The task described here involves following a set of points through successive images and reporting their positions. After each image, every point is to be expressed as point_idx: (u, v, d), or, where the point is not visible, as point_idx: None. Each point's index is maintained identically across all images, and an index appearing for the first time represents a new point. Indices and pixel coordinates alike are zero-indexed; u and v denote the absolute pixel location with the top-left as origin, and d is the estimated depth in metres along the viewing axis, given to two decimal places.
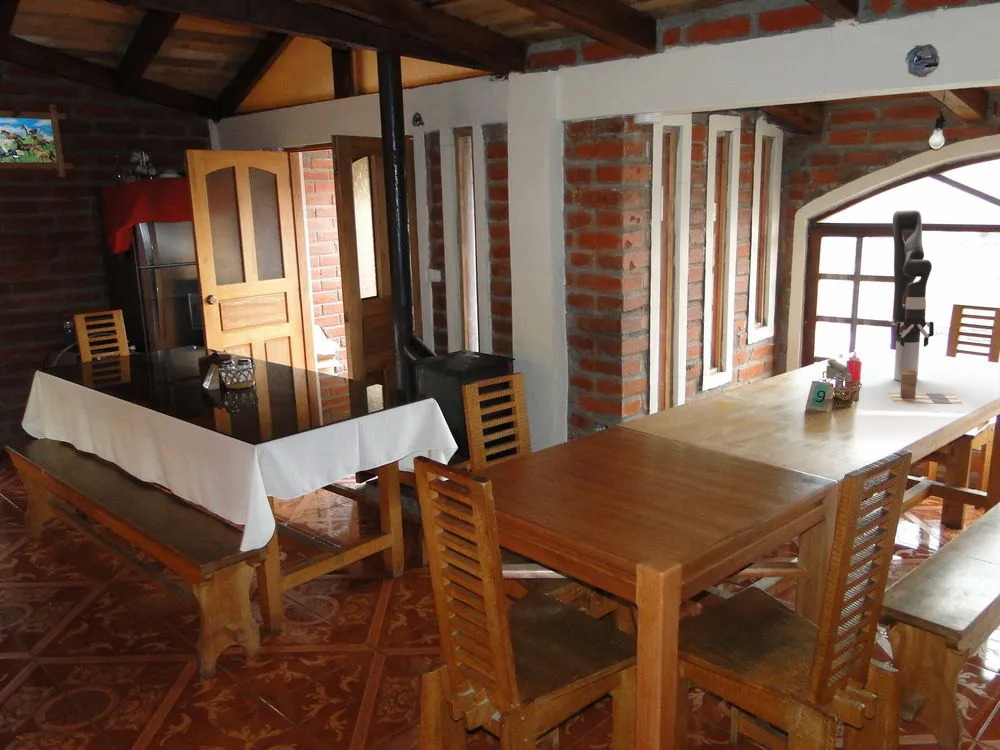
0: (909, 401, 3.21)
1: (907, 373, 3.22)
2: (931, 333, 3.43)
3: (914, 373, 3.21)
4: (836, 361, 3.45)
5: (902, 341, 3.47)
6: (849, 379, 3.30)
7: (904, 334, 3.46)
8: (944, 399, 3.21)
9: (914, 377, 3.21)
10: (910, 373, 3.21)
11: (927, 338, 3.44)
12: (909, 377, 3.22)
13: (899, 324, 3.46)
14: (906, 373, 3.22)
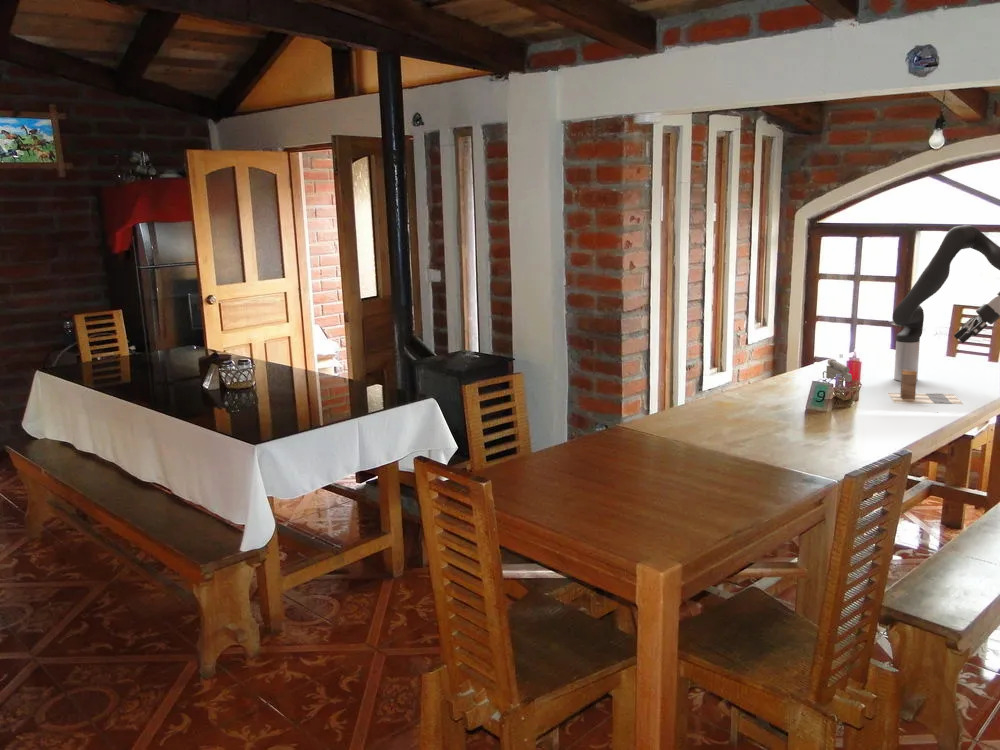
0: (909, 401, 3.21)
1: (907, 373, 3.22)
2: None
3: (914, 373, 3.21)
4: (836, 361, 3.45)
5: (967, 339, 3.11)
6: (849, 379, 3.30)
7: None
8: (944, 399, 3.21)
9: (914, 377, 3.21)
10: (910, 373, 3.21)
11: None
12: (909, 377, 3.22)
13: None
14: (906, 373, 3.22)
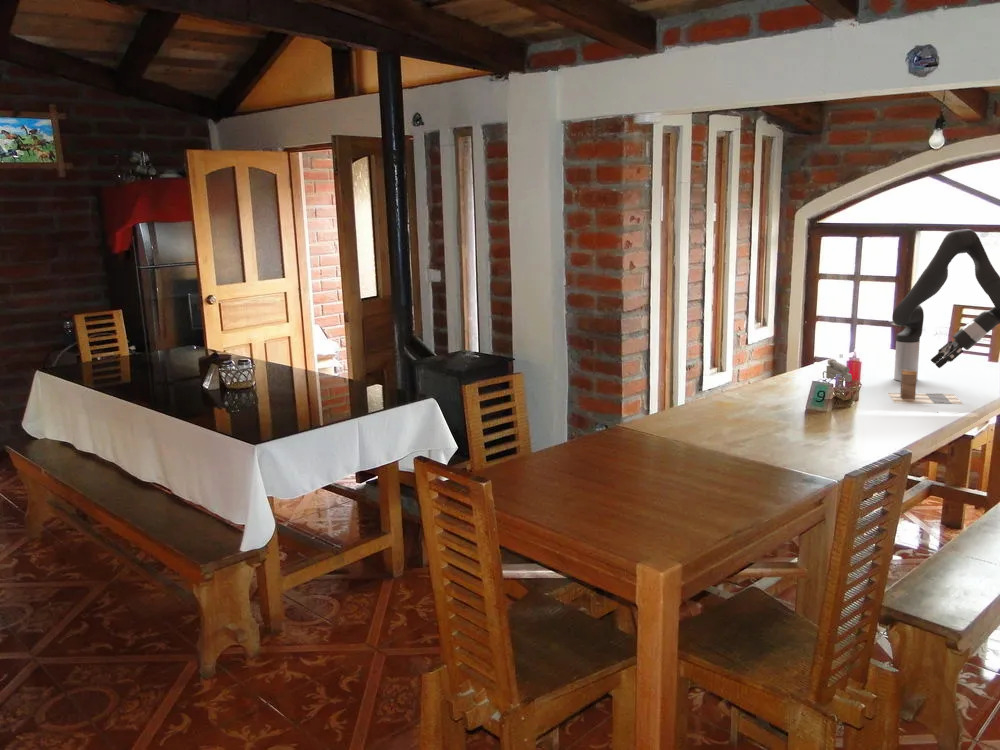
0: (909, 401, 3.21)
1: (907, 373, 3.22)
2: None
3: (914, 373, 3.21)
4: (836, 361, 3.45)
5: (943, 364, 3.15)
6: (849, 379, 3.30)
7: None
8: (944, 399, 3.21)
9: (914, 377, 3.21)
10: (910, 373, 3.21)
11: None
12: (909, 377, 3.22)
13: None
14: (906, 373, 3.22)
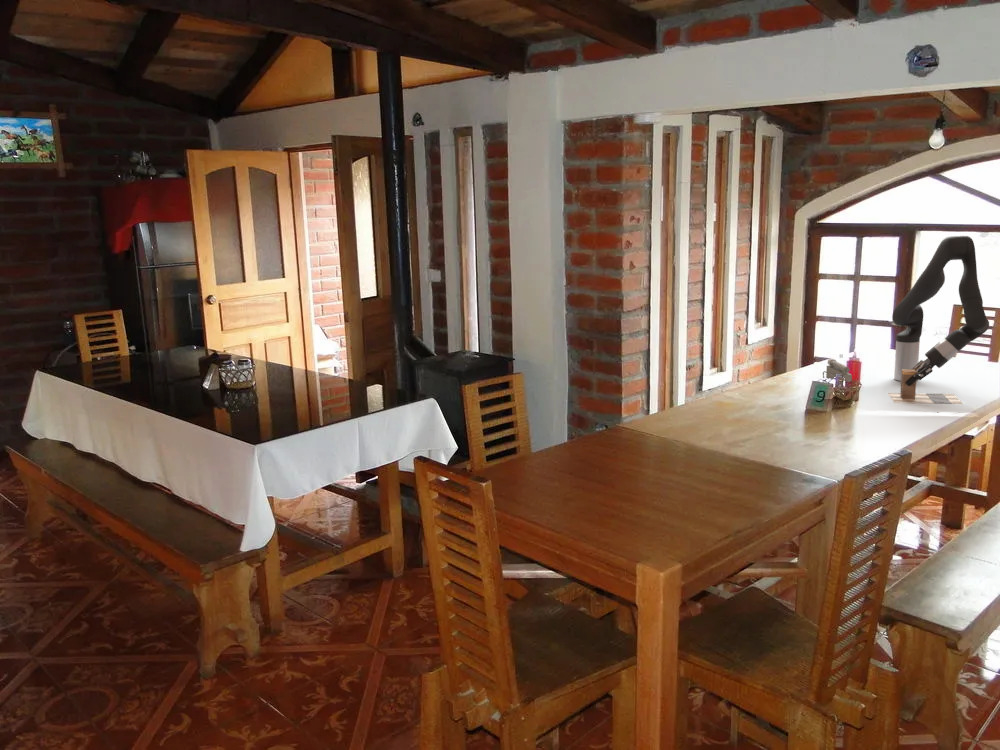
0: (909, 401, 3.21)
1: (907, 373, 3.22)
2: None
3: (914, 373, 3.21)
4: (836, 361, 3.45)
5: (913, 382, 3.21)
6: (849, 379, 3.30)
7: None
8: (944, 399, 3.21)
9: None
10: (910, 373, 3.21)
11: None
12: (909, 377, 3.22)
13: None
14: (906, 373, 3.22)
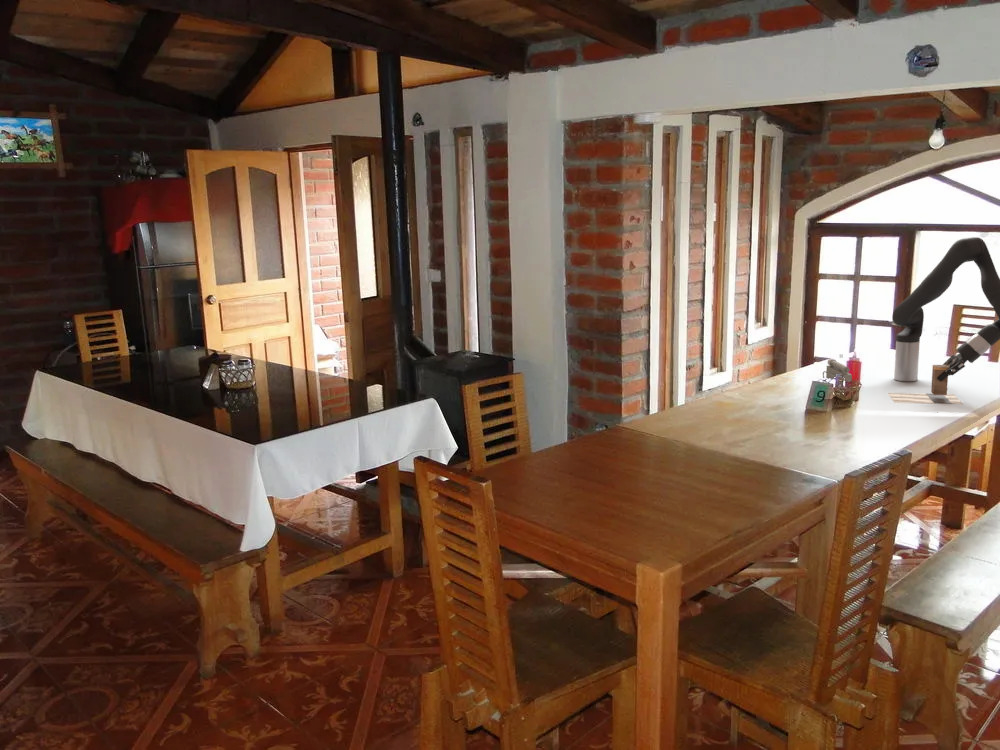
0: (909, 401, 3.21)
1: (939, 368, 3.18)
2: None
3: (946, 368, 3.17)
4: (836, 361, 3.45)
5: (945, 377, 3.18)
6: (849, 379, 3.30)
7: None
8: (944, 399, 3.21)
9: None
10: (942, 368, 3.18)
11: None
12: (941, 372, 3.18)
13: None
14: (938, 368, 3.18)
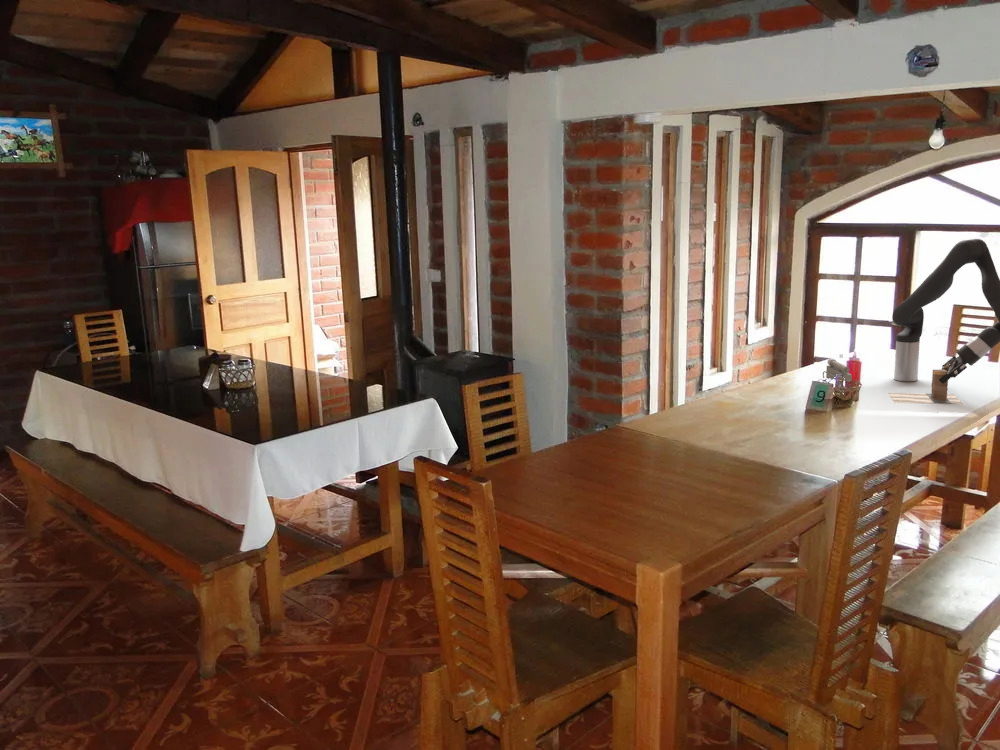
0: (909, 401, 3.21)
1: (939, 373, 3.19)
2: None
3: (946, 373, 3.18)
4: (836, 361, 3.45)
5: None
6: (849, 379, 3.30)
7: None
8: None
9: None
10: (942, 373, 3.18)
11: None
12: None
13: None
14: (938, 373, 3.19)
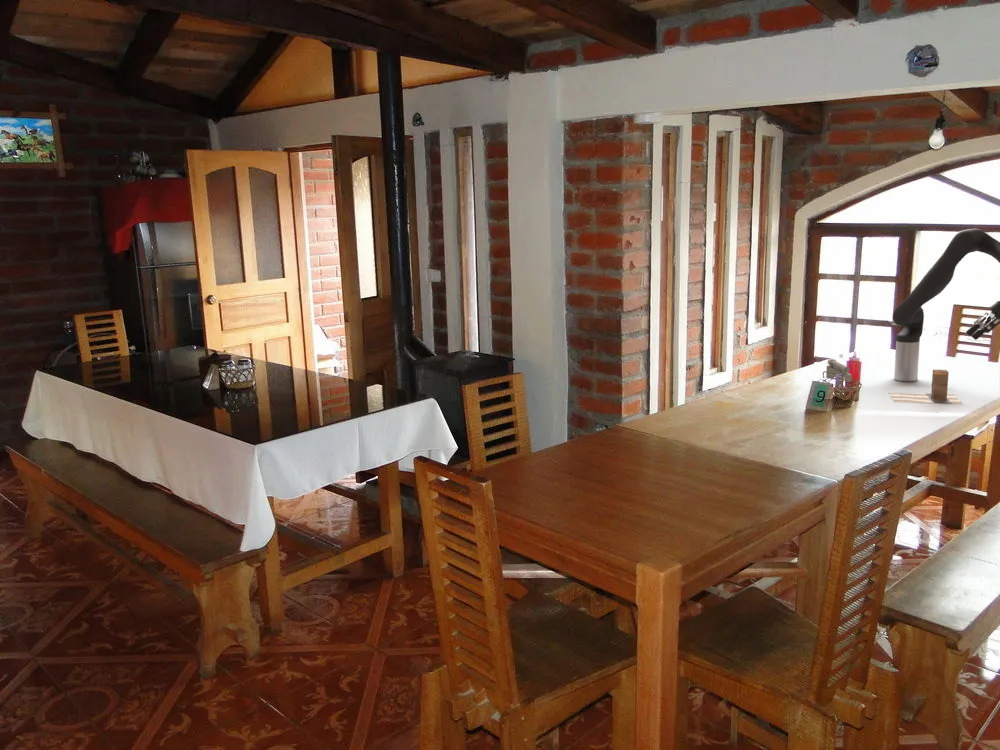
0: (909, 401, 3.21)
1: (939, 373, 3.19)
2: None
3: (946, 373, 3.18)
4: (836, 361, 3.45)
5: (980, 335, 3.10)
6: (849, 379, 3.30)
7: None
8: None
9: (946, 377, 3.18)
10: (942, 373, 3.18)
11: None
12: (941, 377, 3.19)
13: None
14: (938, 373, 3.19)
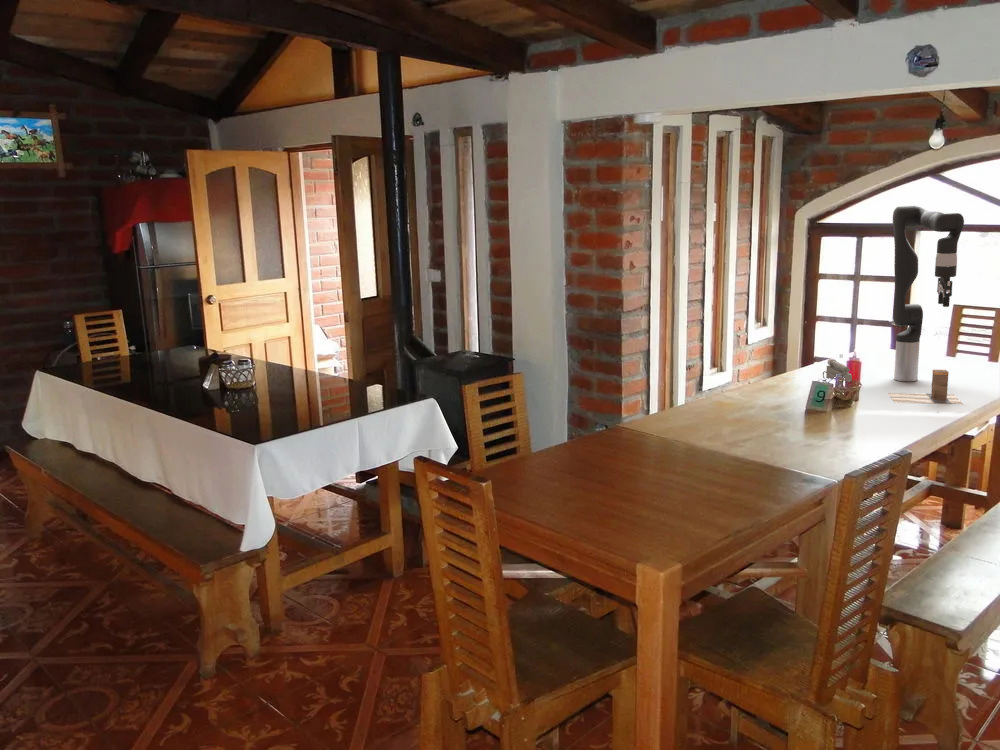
0: (909, 401, 3.21)
1: (939, 373, 3.19)
2: None
3: (946, 373, 3.18)
4: (836, 361, 3.45)
5: (948, 301, 3.25)
6: (849, 379, 3.30)
7: None
8: None
9: (946, 377, 3.18)
10: (942, 373, 3.18)
11: (943, 295, 3.33)
12: (941, 377, 3.19)
13: None
14: (938, 373, 3.19)
